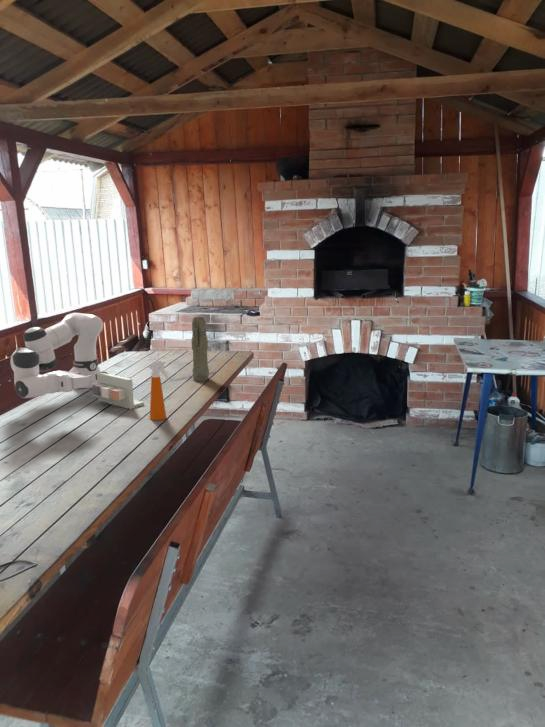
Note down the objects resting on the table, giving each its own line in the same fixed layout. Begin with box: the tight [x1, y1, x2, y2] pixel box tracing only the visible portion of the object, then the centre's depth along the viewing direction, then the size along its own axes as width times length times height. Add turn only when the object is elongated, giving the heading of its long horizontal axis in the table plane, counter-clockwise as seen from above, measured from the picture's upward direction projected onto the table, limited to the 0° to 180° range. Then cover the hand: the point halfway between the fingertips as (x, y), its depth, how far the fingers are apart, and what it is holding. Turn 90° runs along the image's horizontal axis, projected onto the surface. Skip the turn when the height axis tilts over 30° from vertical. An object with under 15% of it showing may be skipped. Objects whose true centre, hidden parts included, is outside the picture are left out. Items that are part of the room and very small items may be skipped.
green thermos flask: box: [191, 316, 210, 382], centre depth 305 cm, size 9×12×35 cm
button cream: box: [101, 385, 116, 398], centre depth 261 cm, size 5×9×5 cm, turn 143°
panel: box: [97, 371, 145, 410], centre depth 265 cm, size 24×8×14 cm, turn 53°
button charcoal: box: [91, 383, 107, 396], centre depth 265 cm, size 5×9×5 cm, turn 143°
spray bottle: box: [148, 360, 170, 421], centre depth 239 cm, size 7×11×26 cm, turn 58°
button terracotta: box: [111, 388, 126, 401], centre depth 257 cm, size 5×9×5 cm, turn 143°
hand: (85, 375), depth 241 cm, fingers open, 8 cm apart
